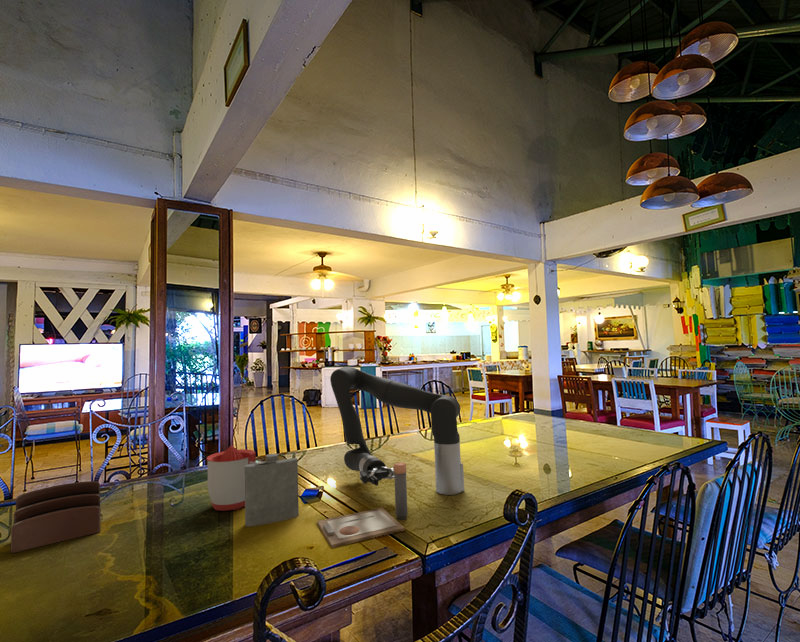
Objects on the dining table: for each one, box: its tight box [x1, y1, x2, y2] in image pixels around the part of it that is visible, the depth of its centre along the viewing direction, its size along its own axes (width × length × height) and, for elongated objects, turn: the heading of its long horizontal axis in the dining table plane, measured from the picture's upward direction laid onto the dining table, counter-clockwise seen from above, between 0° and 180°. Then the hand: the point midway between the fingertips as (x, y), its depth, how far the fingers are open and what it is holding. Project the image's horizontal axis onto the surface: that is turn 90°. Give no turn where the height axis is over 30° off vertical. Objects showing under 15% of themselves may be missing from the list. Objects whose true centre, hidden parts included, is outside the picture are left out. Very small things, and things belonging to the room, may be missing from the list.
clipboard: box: [316, 507, 406, 549], centre depth 121 cm, size 21×17×2 cm
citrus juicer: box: [206, 445, 257, 512], centre depth 143 cm, size 16×17×20 cm
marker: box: [393, 462, 408, 521], centre depth 127 cm, size 4×4×16 cm
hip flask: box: [244, 453, 300, 527], centre depth 129 cm, size 16×4×20 cm, turn 115°
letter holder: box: [10, 480, 102, 554], centre depth 123 cm, size 10×20×14 cm, turn 127°
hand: (389, 480), depth 135 cm, fingers open, 8 cm apart
